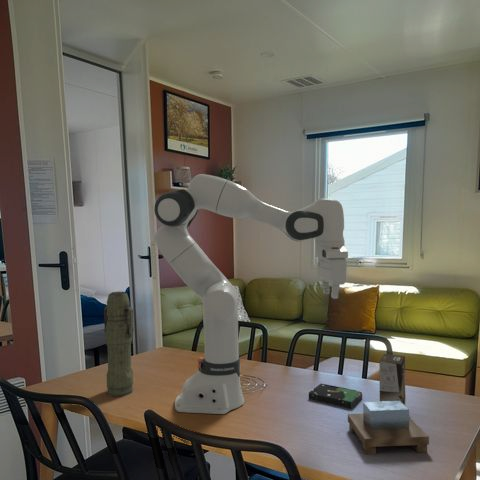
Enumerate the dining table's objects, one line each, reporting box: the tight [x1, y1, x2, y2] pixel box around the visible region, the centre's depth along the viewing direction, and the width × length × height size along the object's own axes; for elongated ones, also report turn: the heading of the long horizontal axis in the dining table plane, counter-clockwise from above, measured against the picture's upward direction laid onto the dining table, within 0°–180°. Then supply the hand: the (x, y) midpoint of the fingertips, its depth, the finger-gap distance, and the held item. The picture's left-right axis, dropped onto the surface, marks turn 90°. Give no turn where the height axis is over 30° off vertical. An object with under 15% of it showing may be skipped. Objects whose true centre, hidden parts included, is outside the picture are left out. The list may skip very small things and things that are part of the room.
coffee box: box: [379, 353, 406, 406], centre depth 126 cm, size 9×6×16 cm
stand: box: [347, 413, 430, 455], centre depth 109 cm, size 16×14×4 cm
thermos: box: [103, 291, 134, 398], centre depth 145 cm, size 9×12×35 cm
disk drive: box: [308, 383, 363, 410], centre depth 136 cm, size 10×3×15 cm
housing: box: [362, 400, 410, 430], centre depth 109 cm, size 10×6×5 cm, turn 93°
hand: (330, 295), depth 128 cm, fingers open, 8 cm apart
